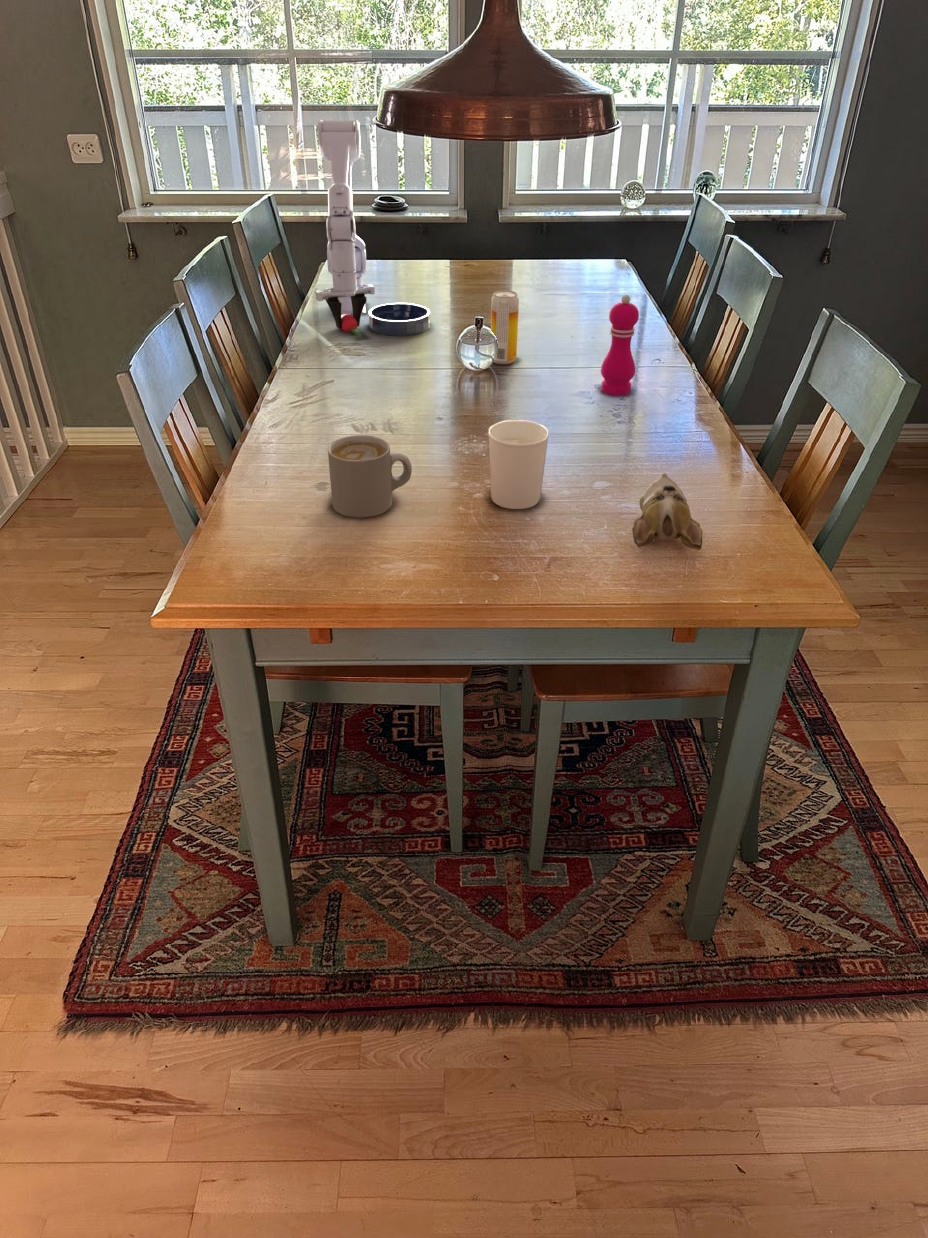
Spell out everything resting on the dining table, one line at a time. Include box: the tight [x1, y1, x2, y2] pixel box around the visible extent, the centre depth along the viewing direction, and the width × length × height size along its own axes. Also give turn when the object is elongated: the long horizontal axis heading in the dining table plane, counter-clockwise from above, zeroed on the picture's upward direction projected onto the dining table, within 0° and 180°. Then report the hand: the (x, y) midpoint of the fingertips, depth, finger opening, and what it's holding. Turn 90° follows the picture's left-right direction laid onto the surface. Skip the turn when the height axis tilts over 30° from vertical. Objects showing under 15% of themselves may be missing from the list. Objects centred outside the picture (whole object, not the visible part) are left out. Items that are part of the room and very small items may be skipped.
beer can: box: [490, 289, 520, 365], centre depth 202 cm, size 6×6×15 cm
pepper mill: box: [600, 294, 640, 397], centre depth 186 cm, size 7×7×20 cm
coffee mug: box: [327, 434, 413, 519], centre depth 146 cm, size 13×10×10 cm
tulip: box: [341, 313, 362, 338], centre depth 219 cm, size 11×4×4 cm, turn 27°
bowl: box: [368, 302, 431, 337], centre depth 224 cm, size 15×15×4 cm
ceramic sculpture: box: [631, 473, 703, 551], centre depth 139 cm, size 11×9×15 cm
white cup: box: [487, 419, 550, 510], centre depth 148 cm, size 10×10×12 cm
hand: (347, 326), depth 222 cm, fingers closed on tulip, 4 cm apart
